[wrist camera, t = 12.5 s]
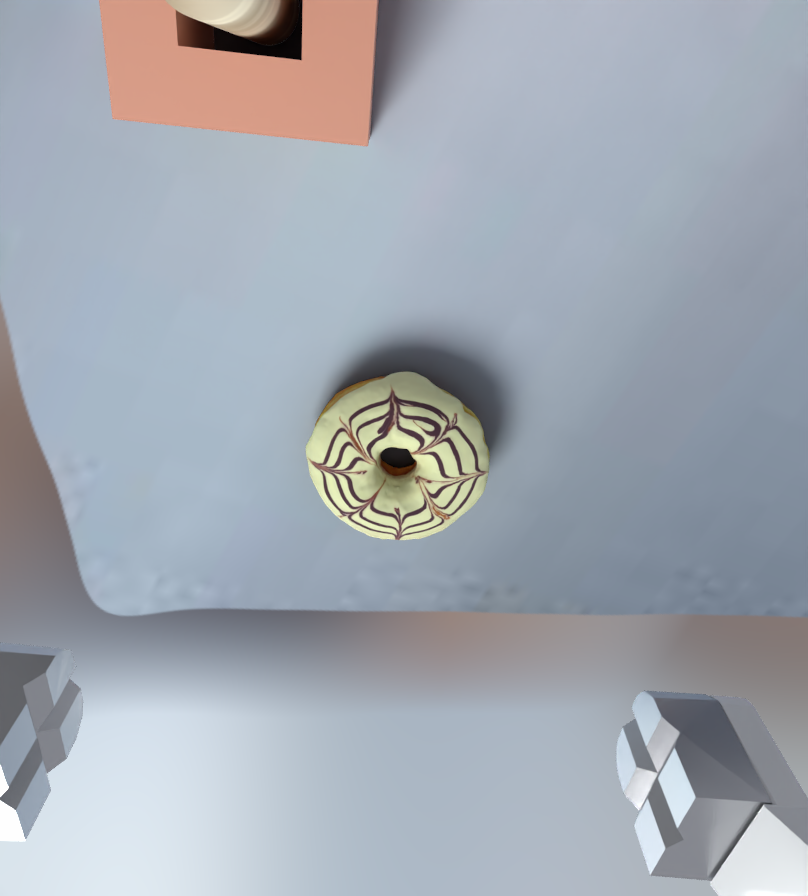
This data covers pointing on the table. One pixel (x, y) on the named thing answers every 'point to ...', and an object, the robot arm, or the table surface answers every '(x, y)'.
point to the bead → (243, 73)
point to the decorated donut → (408, 427)
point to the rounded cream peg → (245, 17)
